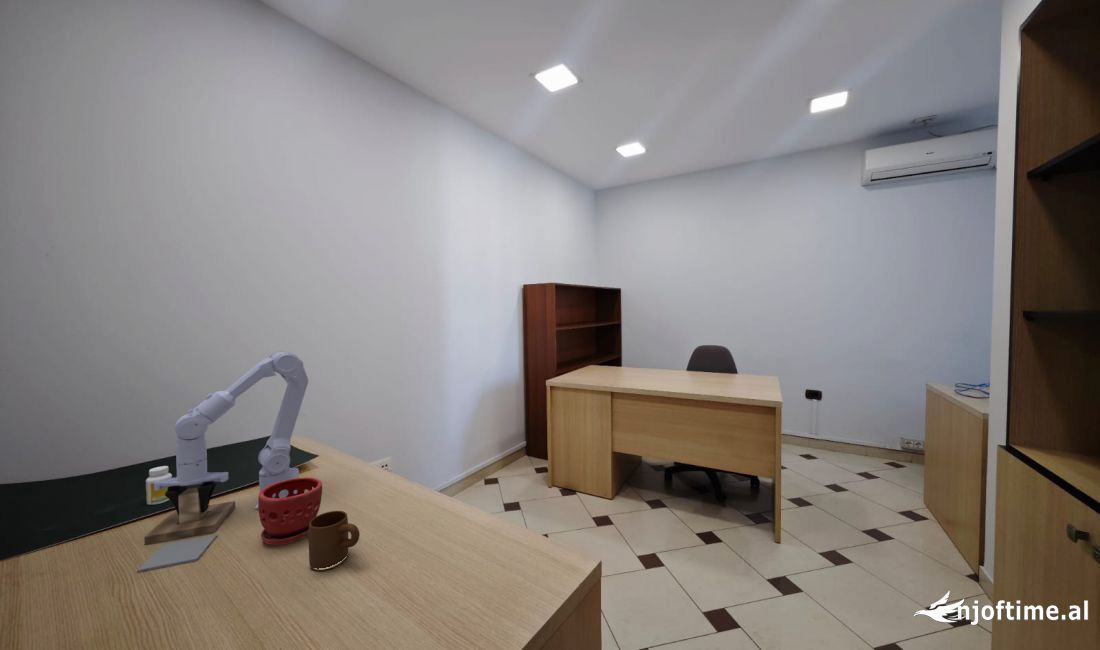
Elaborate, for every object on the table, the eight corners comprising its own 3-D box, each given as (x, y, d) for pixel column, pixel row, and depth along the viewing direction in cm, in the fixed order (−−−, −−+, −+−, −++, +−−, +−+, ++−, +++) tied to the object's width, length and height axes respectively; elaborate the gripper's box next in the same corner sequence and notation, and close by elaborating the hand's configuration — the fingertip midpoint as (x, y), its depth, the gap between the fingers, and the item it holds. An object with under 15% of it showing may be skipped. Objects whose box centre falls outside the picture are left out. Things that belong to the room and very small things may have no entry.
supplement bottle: (177, 496, 114) (176, 465, 114) (157, 505, 109) (156, 472, 108) (162, 496, 114) (161, 464, 114) (141, 504, 109) (140, 471, 109)
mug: (372, 557, 84) (371, 515, 84) (344, 579, 77) (343, 534, 77) (330, 547, 88) (329, 507, 88) (300, 568, 81) (299, 525, 81)
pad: (217, 536, 93) (217, 534, 93) (197, 560, 84) (197, 558, 84) (164, 546, 89) (164, 544, 89) (137, 572, 80) (137, 570, 80)
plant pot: (285, 554, 86) (284, 502, 85) (245, 543, 90) (244, 494, 89) (334, 524, 98) (333, 479, 98) (298, 516, 102) (297, 472, 102)
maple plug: (207, 519, 101) (206, 486, 101) (199, 527, 97) (198, 493, 97) (188, 522, 99) (187, 488, 99) (179, 530, 96) (178, 495, 95)
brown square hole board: (235, 508, 107) (235, 501, 107) (214, 532, 95) (214, 524, 95) (174, 517, 102) (174, 510, 102) (144, 545, 90) (144, 536, 90)
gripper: (233, 451, 104) (234, 500, 104) (165, 459, 99) (167, 509, 99) (220, 460, 97) (222, 512, 98) (147, 469, 92) (149, 523, 93)
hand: (193, 512), depth 98 cm, fingers closed on maple plug, 4 cm apart
